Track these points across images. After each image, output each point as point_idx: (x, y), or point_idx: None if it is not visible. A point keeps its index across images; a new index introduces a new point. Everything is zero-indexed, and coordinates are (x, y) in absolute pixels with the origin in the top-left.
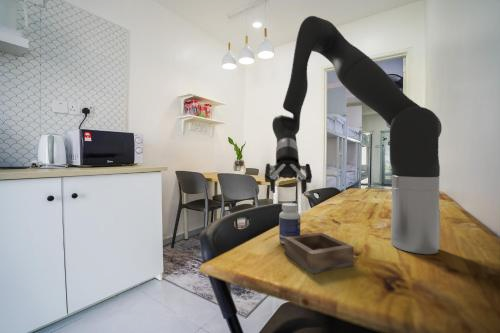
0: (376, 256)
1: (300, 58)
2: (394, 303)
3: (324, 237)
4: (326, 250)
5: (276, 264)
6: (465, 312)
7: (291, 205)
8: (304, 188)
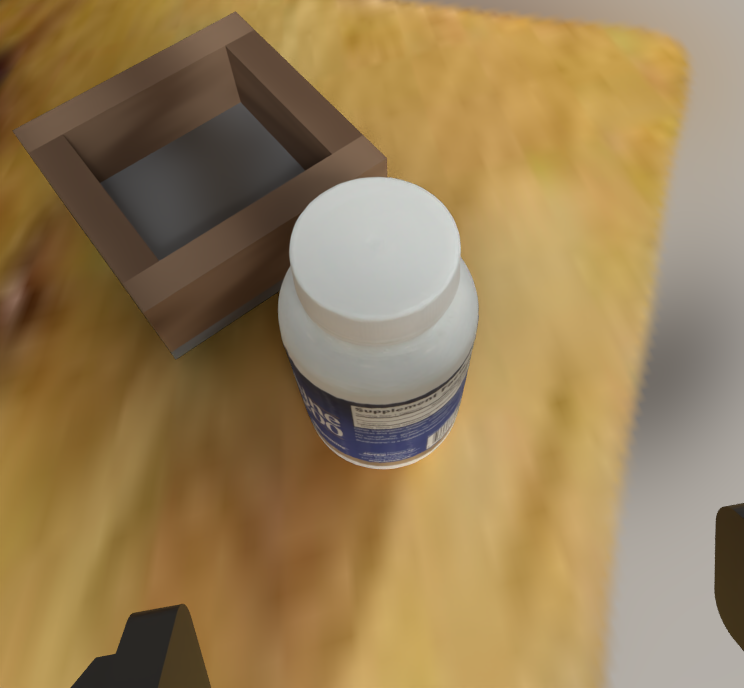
0: None
1: None
2: (26, 5)
3: (136, 232)
4: (163, 58)
5: (403, 108)
6: None
7: (349, 188)
8: (130, 616)
